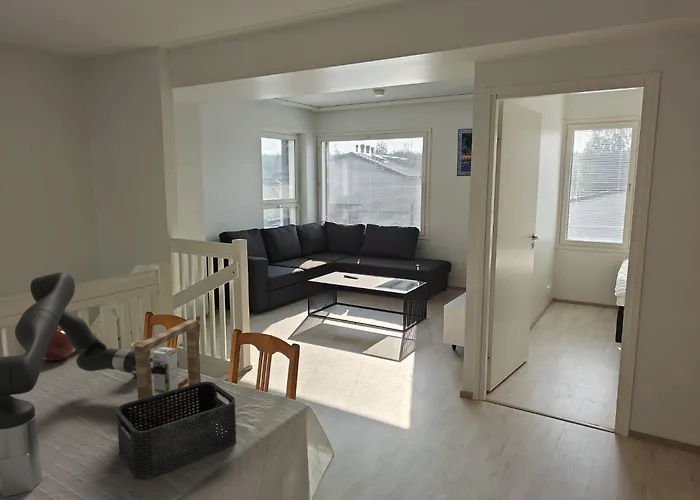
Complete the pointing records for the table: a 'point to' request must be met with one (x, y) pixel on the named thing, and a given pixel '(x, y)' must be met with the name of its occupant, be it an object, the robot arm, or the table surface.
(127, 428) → the storage bin
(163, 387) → the syrup box
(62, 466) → the table surface
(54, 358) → the round-bottom flask
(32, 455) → the robot arm
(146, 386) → the wooden frame stand
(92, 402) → the table surface
